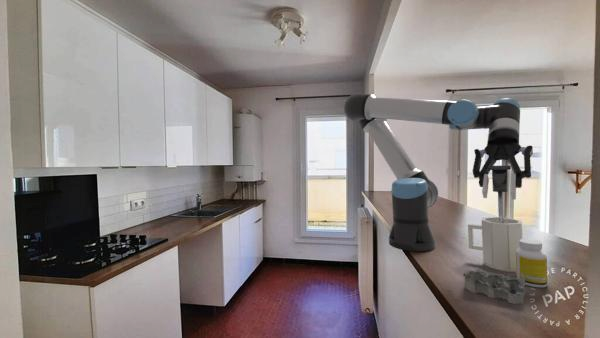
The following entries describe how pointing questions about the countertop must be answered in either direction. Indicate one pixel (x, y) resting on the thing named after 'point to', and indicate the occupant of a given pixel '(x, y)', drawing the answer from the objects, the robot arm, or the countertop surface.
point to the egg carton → (484, 280)
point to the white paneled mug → (498, 242)
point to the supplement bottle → (531, 263)
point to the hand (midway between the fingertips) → (498, 195)
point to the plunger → (500, 185)
